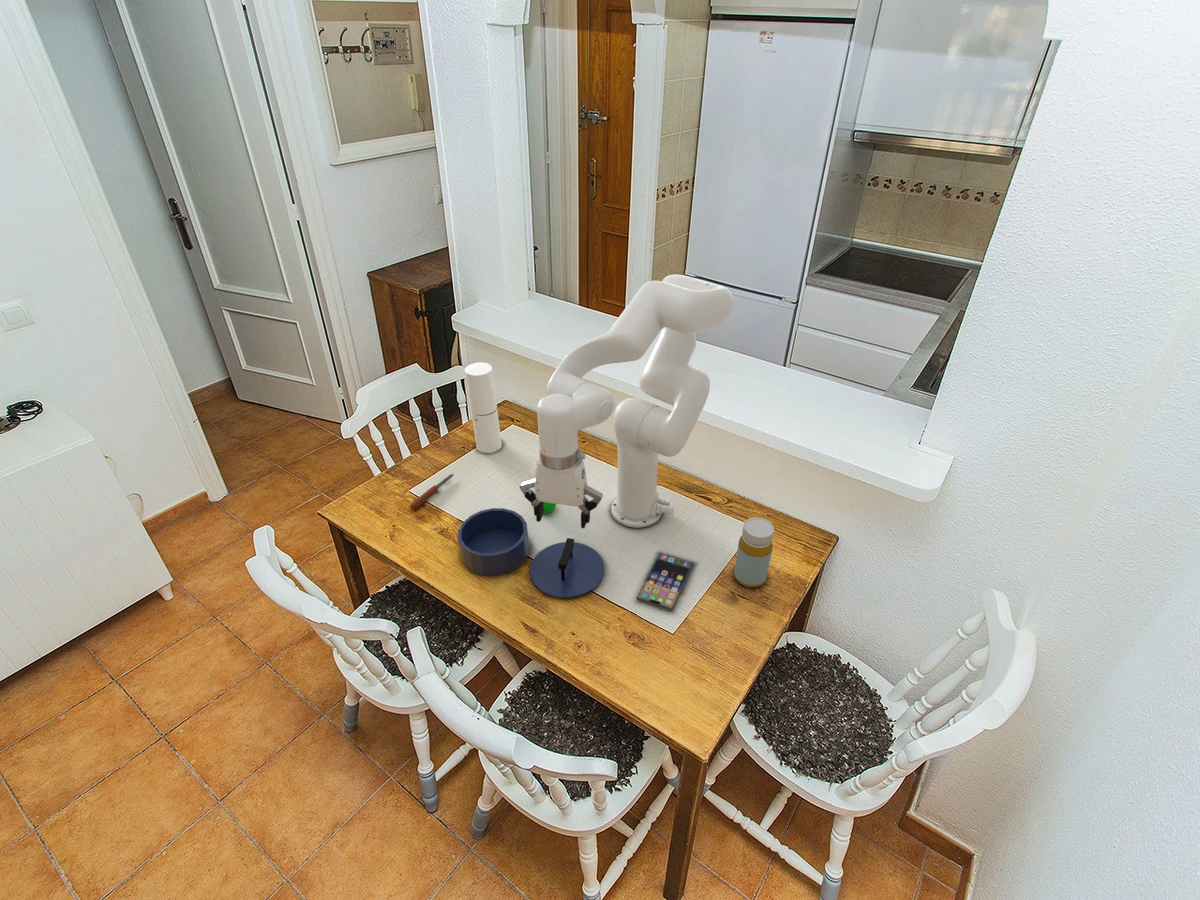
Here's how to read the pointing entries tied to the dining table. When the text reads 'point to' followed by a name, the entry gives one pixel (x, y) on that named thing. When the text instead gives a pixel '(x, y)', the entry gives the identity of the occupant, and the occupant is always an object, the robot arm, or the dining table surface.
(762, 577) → the bottle
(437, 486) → the kitchen knife
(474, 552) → the pot
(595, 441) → the dining table surface
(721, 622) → the dining table surface
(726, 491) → the dining table surface
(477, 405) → the cylindrical container
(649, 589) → the smartphone
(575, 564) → the lid
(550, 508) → the polyhedron
